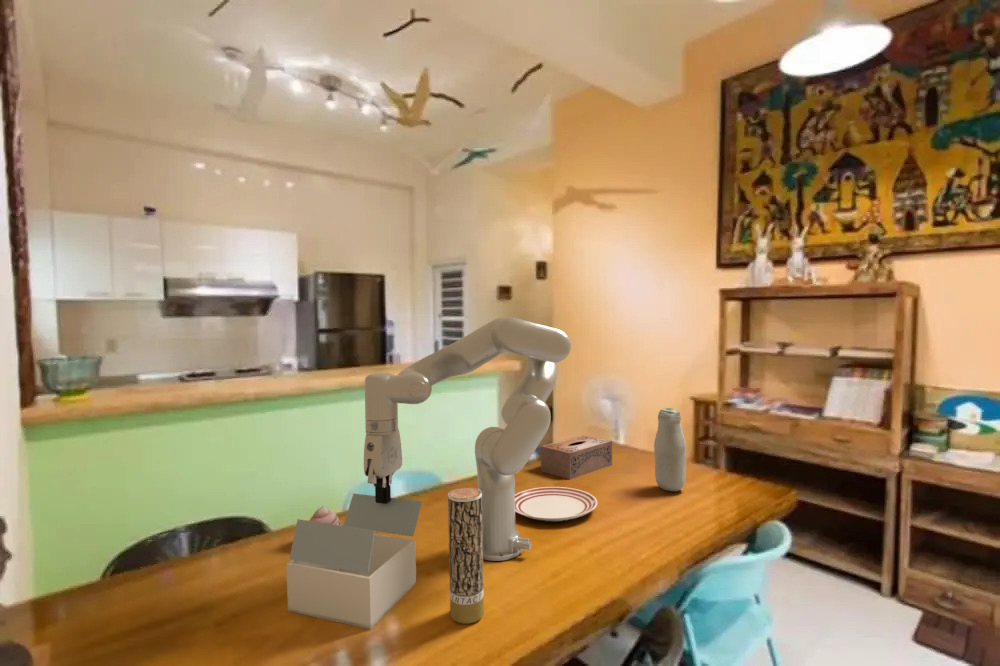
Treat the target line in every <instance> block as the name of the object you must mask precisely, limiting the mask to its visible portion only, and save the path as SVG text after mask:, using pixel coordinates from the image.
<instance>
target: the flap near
mask: <svg viewBox="0 0 1000 666" xmlns="http://www.w3.org/2000/svg"><path fill="white" fill-rule="evenodd" d="M375 532H376V531H375V530H368V529H361V528H354V527H348V526H343V525H342V524H341V525H334V524H327V523H320V522H313V521H309V520H305V519H297V520H296V525H295V530H294V535H293V540H292V543H291V544H292V545H291V550H290V553H289V554H290V555H289V560H290V561H291V560H296V561H301V562H307V563H312V564H318V565H324V566H329V567H335V568H340V569H346V570H352V571H357V572H363V573H368V572H369V565H370V559H371V553H372V547H373V540H374V534H376V533H375Z"/></svg>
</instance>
